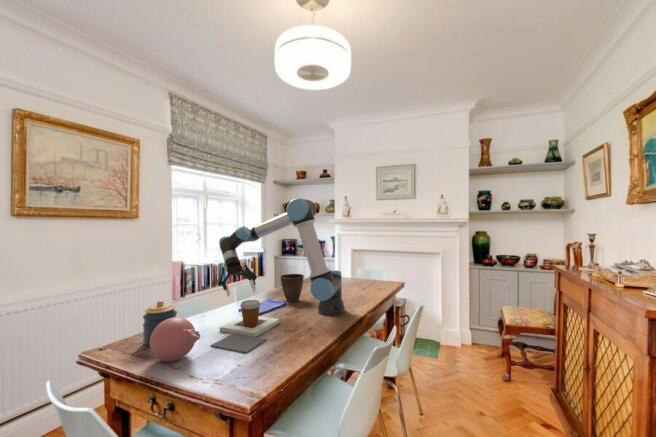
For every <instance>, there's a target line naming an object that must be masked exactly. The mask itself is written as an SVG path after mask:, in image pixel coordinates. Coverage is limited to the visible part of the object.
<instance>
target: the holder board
mask: <svg viewBox="0 0 656 437" xmlns="http://www.w3.org/2000/svg"><path fill="white" fill-rule="evenodd" d="M279 324H280V318H275V317H266V316H261V315H259V316H258V325H257V326H256V327H255V328H248V327H244V324H243V317H242V316H241V317H239V318H236V319H234V320H232V321H230V322H227V323H225V324H223V325H221V326H219V332H222V333H227V334H233V333H235V334H241V335H247V336H253V337H258V336H260V335H262V334H263V333H265V332H267V331H268V330H270V329H272V328H273V327H275V326H277V325H279Z"/></svg>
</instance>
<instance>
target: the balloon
mask: <svg viewBox="0 0 656 437" xmlns="http://www.w3.org/2000/svg"><path fill="white" fill-rule="evenodd" d="M200 338H201V334H200V331H199V330H196V328H195V326H194V324H192V322H191V321H190V320H188V319H187V318H184V317H181V316H180V317H179V316H176V317H173V318H169V319H166V320H164V321H162V322H161V323H160V324H159V325H157V327H156V328H155V329H154V331H153V332H152V335H151V338H150V347H149V348H150V350H151V352H152V354H153V355H154V357H156V358H157V359H159V360H160V361H163V362H176V361H178V360H180V359H182V358H185V356H187V355H188V354H189V353H190V352H191V350H192V349H193V347H194V346H195V344H196V342H198V341H199V340H200Z"/></svg>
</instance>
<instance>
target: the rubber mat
mask: <svg viewBox="0 0 656 437" xmlns="http://www.w3.org/2000/svg"><path fill="white" fill-rule="evenodd" d="M267 341H268V338H264V337H258V336H256V337H253V336H247V335H241V334H235V333H230V335H228V336H226V337H223V338H222V339H219V340H218V341H216V342H214V343H212V344H210V347H211V348H216V349H222V350H226V351H232V352H236V353H241V354H247V353H249V352H251V351H252V350H254V349H256V348H258V346H259V347H260V346H261V345H262V344H264V343H266V342H267Z"/></svg>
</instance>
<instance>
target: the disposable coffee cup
mask: <svg viewBox="0 0 656 437" xmlns="http://www.w3.org/2000/svg"><path fill="white" fill-rule="evenodd" d="M239 306H240V309H241V310H242V312H241V314H242V315H241V317H243V327H248V328H255V327H256V326H258V325H259V323H258V315H259V307H260V301H259V300H257V299H249V300H248V299H247V300H244V301H241V302H240V305H239ZM259 316H260V315H259Z"/></svg>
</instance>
